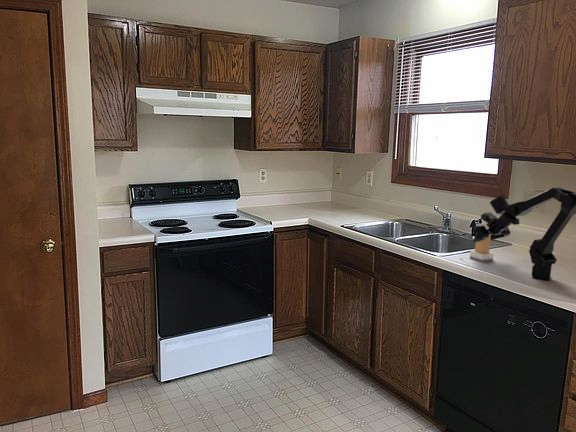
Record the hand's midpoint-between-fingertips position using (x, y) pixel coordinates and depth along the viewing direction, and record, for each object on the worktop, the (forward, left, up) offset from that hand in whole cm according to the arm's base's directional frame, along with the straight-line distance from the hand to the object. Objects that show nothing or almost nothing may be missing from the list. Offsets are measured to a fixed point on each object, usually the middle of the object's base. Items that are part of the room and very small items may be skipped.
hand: (480, 240), depth 227 cm
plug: (-1, +1, -8) cm, 8 cm away
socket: (-1, +1, -9) cm, 9 cm away
